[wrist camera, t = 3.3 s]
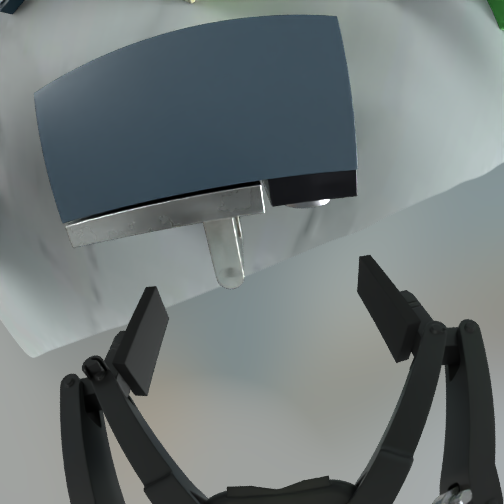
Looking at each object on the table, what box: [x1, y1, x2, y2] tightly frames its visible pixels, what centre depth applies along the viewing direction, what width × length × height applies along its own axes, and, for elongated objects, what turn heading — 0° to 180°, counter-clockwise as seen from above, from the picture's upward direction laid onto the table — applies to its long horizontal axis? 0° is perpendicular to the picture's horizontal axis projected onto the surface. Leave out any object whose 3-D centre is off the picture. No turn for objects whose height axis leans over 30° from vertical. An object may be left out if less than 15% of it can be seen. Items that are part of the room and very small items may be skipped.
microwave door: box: [65, 180, 265, 289], centre depth 22 cm, size 8×13×14 cm, turn 98°
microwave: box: [34, 15, 358, 223], centre depth 19 cm, size 11×18×14 cm, turn 99°
